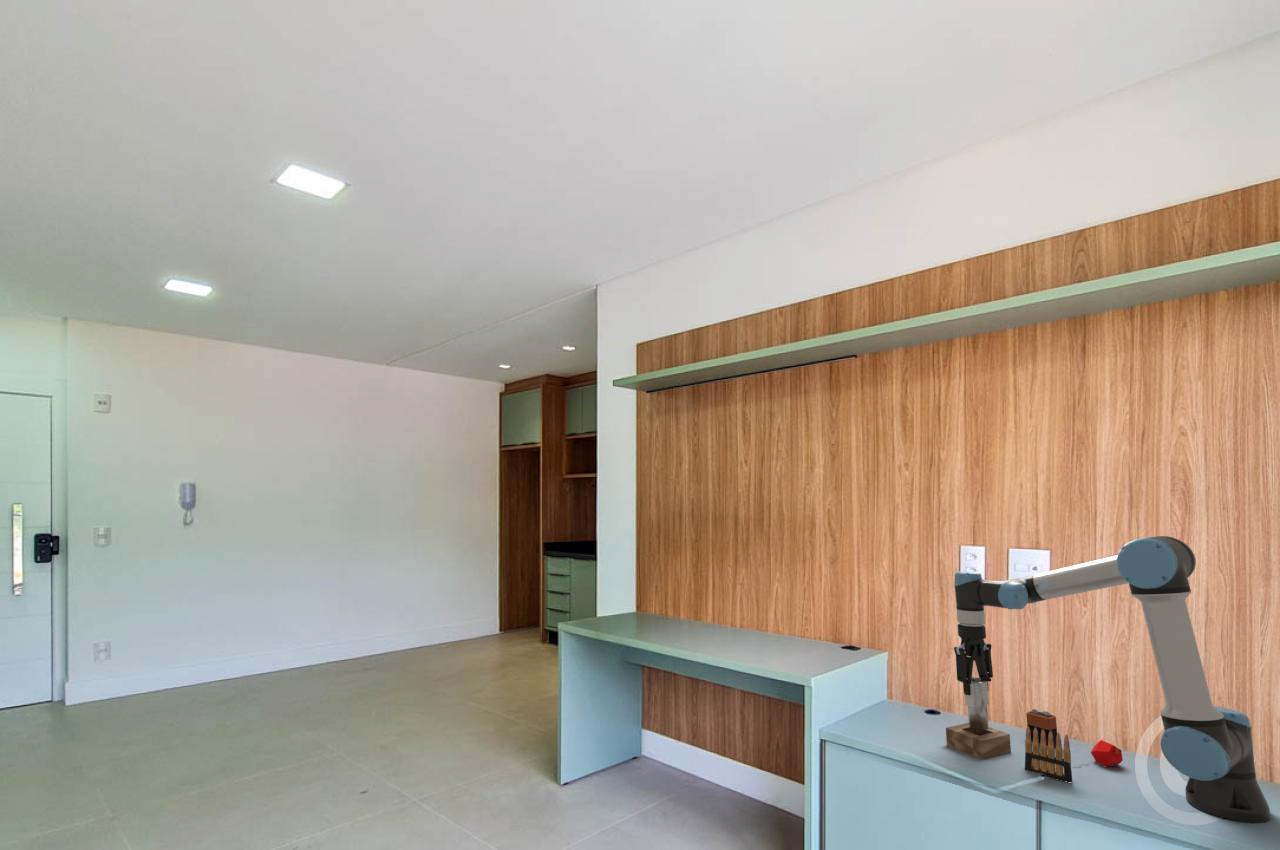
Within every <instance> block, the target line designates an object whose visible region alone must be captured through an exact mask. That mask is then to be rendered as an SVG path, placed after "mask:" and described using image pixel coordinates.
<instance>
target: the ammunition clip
mask: <svg viewBox="0 0 1280 850" xmlns="http://www.w3.org/2000/svg"><path fill="white" fill-rule="evenodd" d="M1025 729H1026V730H1025V740H1024V748H1025V749H1024V751H1025V752H1024V753H1025V754H1024V755H1025V757H1024V770H1025V771H1030V772H1032V773H1033V772H1034V773H1037V774H1041V775H1040V776H1041V777H1044V778H1049V779H1053V780H1056V779H1058V780H1057V781H1060V780H1062V781H1061V782H1064V781H1067V782H1066V783H1068V782H1072V783H1073V774H1072V773H1073V772H1072V755H1071V748H1070V747H1071V746H1070V739H1069V735H1068V734H1067V733H1066V734H1065V736H1064V740H1063V744H1062V738H1061V734H1060V732H1057V737H1056V748H1054V742H1053V735H1052V732H1051V731H1050V732H1049V736H1048V746H1047V745H1046V736H1045V732H1044V729H1042V731H1041V742H1040V744H1039V739H1038V732H1037V729H1036V727H1035V729H1034V732H1033V742H1032V741H1031V732H1030V728H1029V726H1027V725H1026V728H1025ZM1062 745H1063V746H1062ZM1062 747H1063V748H1062Z"/></svg>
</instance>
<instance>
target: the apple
mask: <svg viewBox="0 0 1280 850" xmlns="http://www.w3.org/2000/svg"><path fill="white" fill-rule="evenodd" d="M1090 754H1091V755H1092V757H1093V759H1094V760H1095V763H1097V762H1098V763H1097V764H1099V763H1100V764H1099V765H1101V764H1102V765H1103V767H1104V766H1107V767H1113V766H1112V765H1115V766H1118V765H1119V764H1120V763H1122V762H1124V760H1123V753H1122V749H1120V748H1118V747H1117V746H1115V745H1114V744H1112V743H1110V742H1107V741H1105V740H1102V739H1101V740H1099V741H1097V742H1096V744H1095V745H1094V746H1093V748H1092V749H1091V751H1090ZM1102 765H1101V766H1102Z"/></svg>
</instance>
